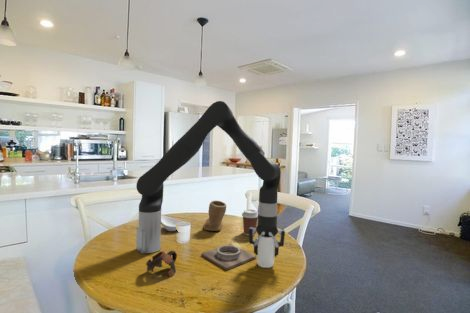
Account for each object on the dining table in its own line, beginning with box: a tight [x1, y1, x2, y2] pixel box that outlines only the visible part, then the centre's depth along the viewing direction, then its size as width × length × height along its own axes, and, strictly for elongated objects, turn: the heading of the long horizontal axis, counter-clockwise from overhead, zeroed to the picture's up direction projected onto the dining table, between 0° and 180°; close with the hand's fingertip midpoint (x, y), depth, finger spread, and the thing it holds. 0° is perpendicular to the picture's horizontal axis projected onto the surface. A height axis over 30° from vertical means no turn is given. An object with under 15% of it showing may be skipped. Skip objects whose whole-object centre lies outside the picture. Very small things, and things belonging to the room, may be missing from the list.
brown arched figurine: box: [145, 250, 178, 278], centre depth 92 cm, size 12×10×8 cm
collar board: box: [201, 243, 257, 271], centre depth 105 cm, size 16×16×3 cm
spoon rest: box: [161, 214, 184, 232], centre depth 138 cm, size 24×12×7 cm, turn 74°
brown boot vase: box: [203, 200, 227, 232], centre depth 140 cm, size 15×12×15 cm
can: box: [256, 236, 275, 269], centre depth 99 cm, size 6×6×12 cm
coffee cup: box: [241, 209, 258, 236], centre depth 133 cm, size 9×9×12 cm
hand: (265, 254), depth 99 cm, fingers open, 7 cm apart
